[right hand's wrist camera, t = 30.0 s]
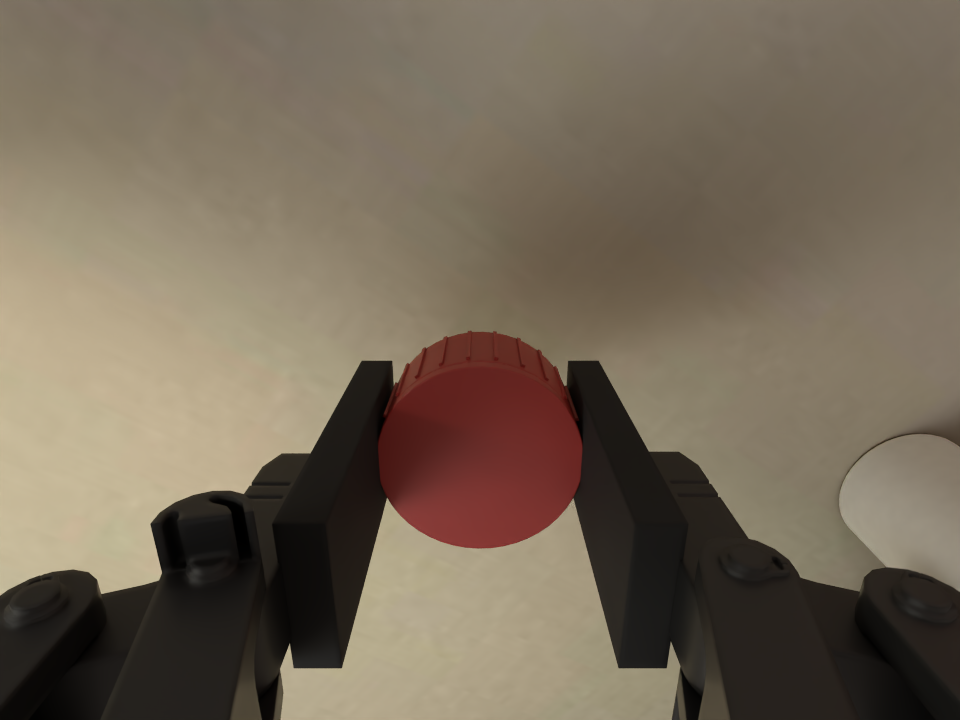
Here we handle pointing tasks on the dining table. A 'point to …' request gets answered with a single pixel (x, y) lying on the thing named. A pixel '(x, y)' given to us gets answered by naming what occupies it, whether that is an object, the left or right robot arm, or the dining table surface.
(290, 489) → the right robot arm
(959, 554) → the bottle
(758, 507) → the dining table surface
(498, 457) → the cap
